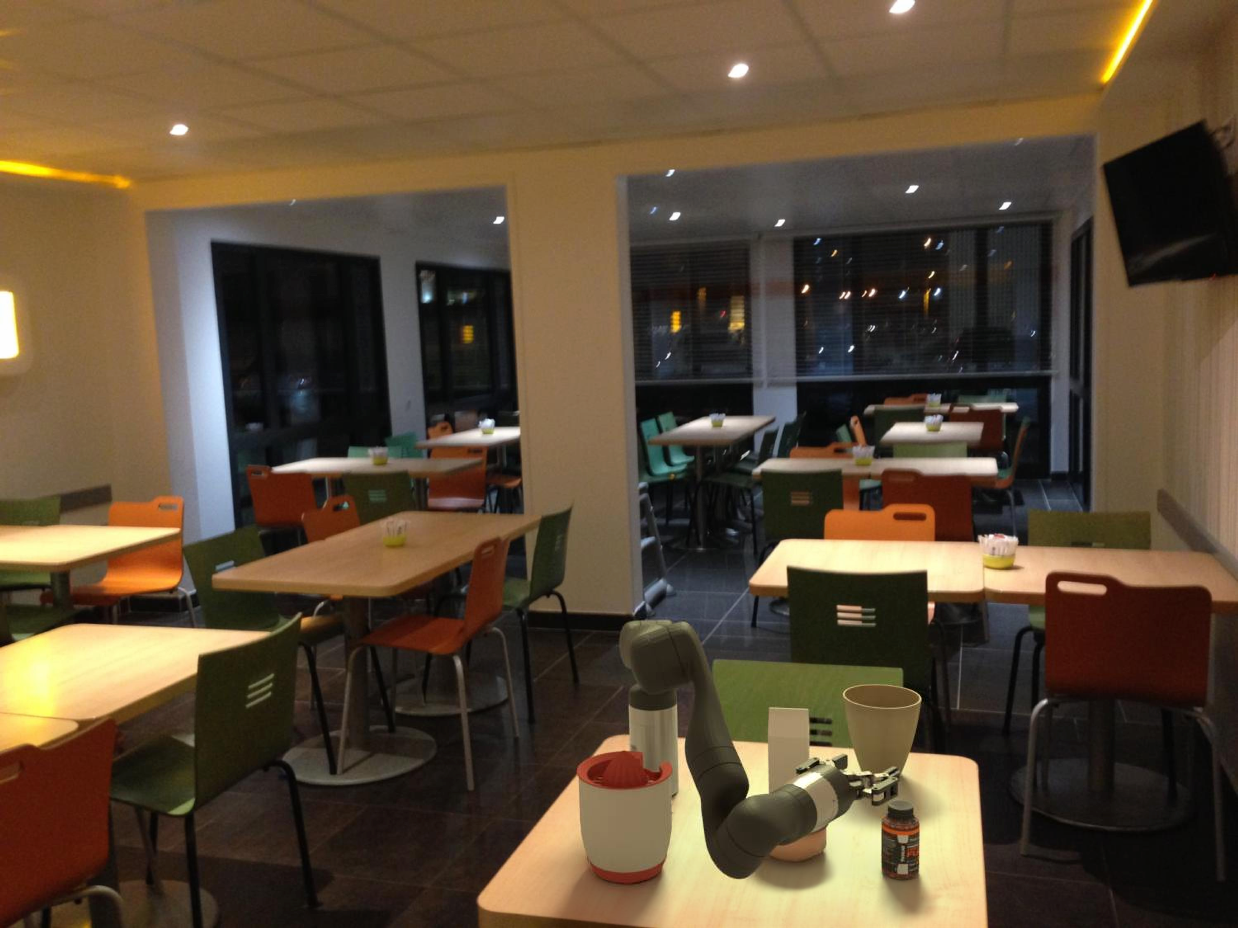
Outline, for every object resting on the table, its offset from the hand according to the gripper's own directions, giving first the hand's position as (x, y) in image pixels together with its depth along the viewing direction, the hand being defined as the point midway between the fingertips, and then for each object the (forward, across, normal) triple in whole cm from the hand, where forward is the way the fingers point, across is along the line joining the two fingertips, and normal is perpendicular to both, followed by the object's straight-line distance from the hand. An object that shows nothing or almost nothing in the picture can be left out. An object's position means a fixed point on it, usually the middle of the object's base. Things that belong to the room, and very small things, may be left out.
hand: (870, 766), depth 163 cm
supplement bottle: (+10, 0, +21) cm, 23 cm away
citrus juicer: (-15, +36, +21) cm, 44 cm away
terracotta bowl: (+6, +18, +20) cm, 28 cm away
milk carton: (+19, +27, +20) cm, 39 cm away
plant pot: (+44, +22, +20) cm, 53 cm away
